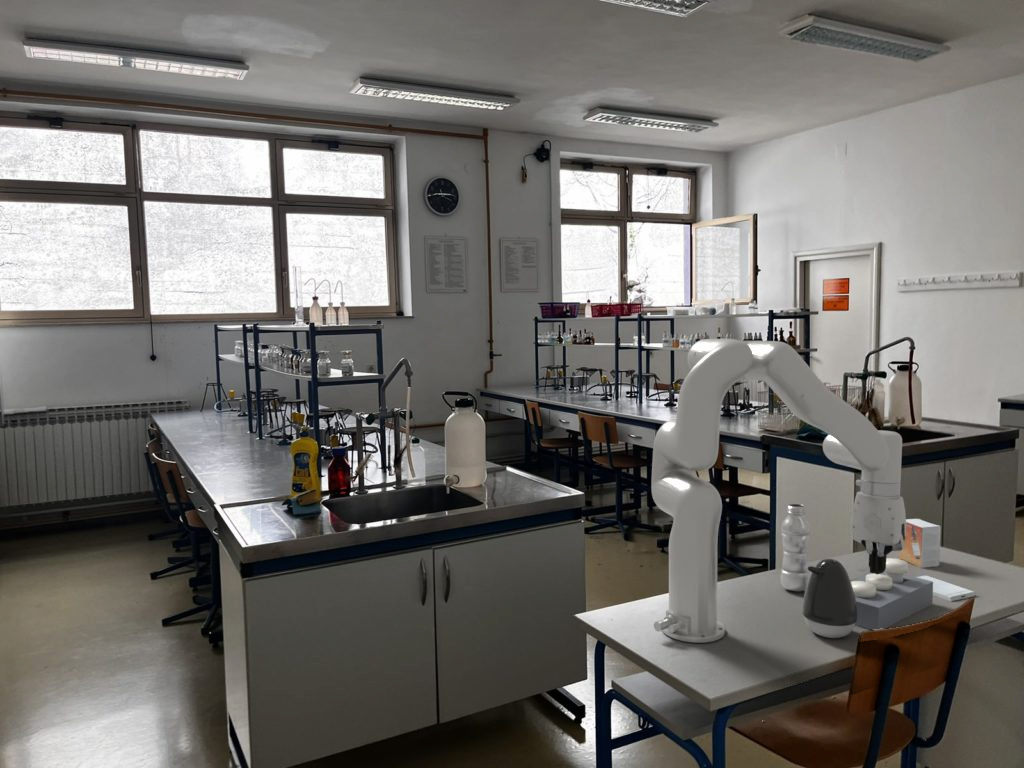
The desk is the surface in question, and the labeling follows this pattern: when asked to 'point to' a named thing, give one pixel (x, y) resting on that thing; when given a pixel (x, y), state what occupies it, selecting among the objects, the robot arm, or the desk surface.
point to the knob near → (864, 589)
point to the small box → (921, 543)
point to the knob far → (896, 569)
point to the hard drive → (948, 590)
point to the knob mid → (880, 581)
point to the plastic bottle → (795, 549)
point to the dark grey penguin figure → (829, 600)
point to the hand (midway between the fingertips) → (877, 572)
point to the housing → (893, 602)
